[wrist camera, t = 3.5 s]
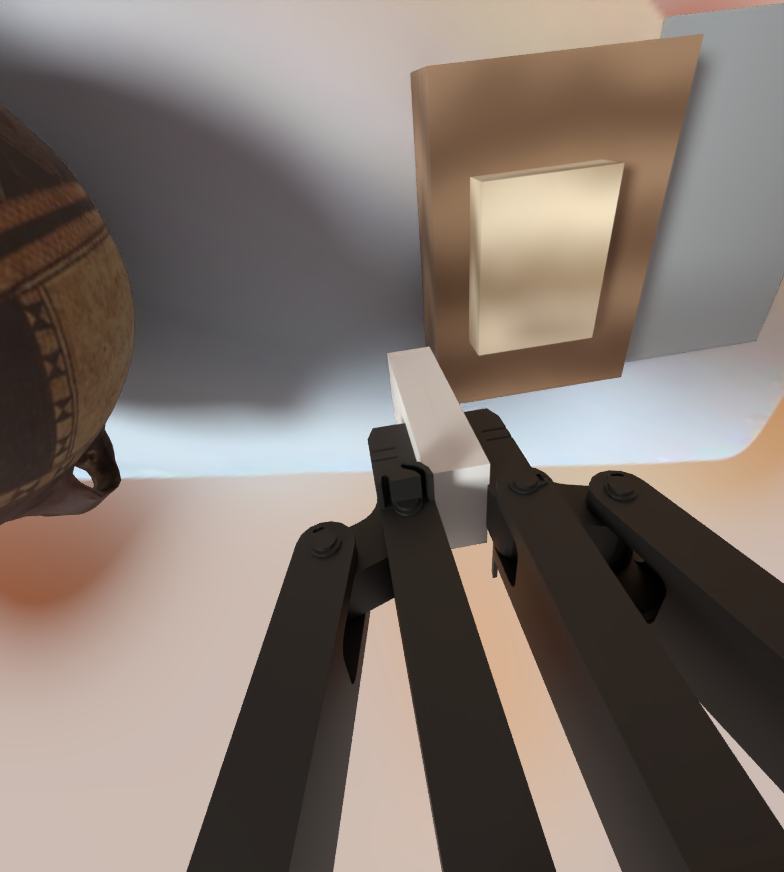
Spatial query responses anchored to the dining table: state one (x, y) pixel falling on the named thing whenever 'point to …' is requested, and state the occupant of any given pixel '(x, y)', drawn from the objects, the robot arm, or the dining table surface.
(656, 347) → the mat
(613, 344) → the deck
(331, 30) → the dining table surface
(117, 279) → the vase
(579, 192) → the tile
